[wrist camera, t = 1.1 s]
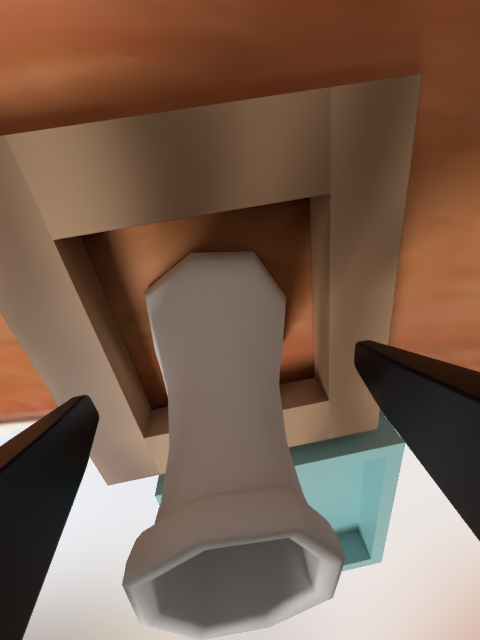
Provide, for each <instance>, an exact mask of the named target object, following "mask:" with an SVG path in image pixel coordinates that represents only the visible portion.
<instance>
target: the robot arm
mask: <svg viewBox="0 0 480 640" xmlns="http://www.w3.org/2000/svg"><path fill="white" fill-rule="evenodd" d="M354 365H355V368H356V370H357V372H358V373H359V375H360V377H361V378H362V380H363V382H364V383H365V385H366V387H367V388H368V390H369V392H370V393H371V395H372V397H373V398H374V400H375V402H376V403H377V405H378V406H379V408H380V409H381V411H382V412H383V413H384V415H385V416H386V417H387V419H388V420H389V421H390V423H391V424H392V425H393V427H394V428H395V429H396V431H397V432H398V433H399V435H400V436H401V437H402V439H403V440H404V441H405V443H406V444H407V445H408V447H409V448H410V449H411V451H412V452H413V453H414V455H415V456H416V457H417V459H418V460H419V461H420V462H421V464H422V465H423V466H424V468H425V469H426V471H427V472H428V473H429V475H430V476H431V477H432V479H433V480H434V481H435V483H436V484H437V485H438V486H439V488H440V489H441V490H442V492H443V493H444V494H445V496H446V497H447V498H448V500H449V501H450V502H451V504H452V505H453V506H454V508H455V509H456V510H457V512H458V513H459V514H460V515H461V517H462V518H463V520H464V521H465V522H466V523H467V525H468V526H469V528H470V529H471V530H472V532H473V533H474V534H475V536H476V537H477V538H478V539H479V541H480V372H477V371H474V370H470V369H467V368H464V367H460V366H457V365H453V364H450V363H447V362H443V361H440V360H436V359H433V358H429V357H426V356H423V355H419V354H416V353H412V352H409V351H406V350H402V349H399V348H395V347H392V346H389V345H385V344H382V343H378V342H375V341H372V340H364V341H359V342H357V343H356V344H355V353H354ZM98 422H99V413H98V411H97V409H96V407H95V405H94V403H93V401H92V400H91V398H90V396H88V395H81V396H75V397H72V398H71V399H69V400H68V401H66V402H65V403H63V404H62V405H61V406H59V407H58V408H56V409H55V410H53V411H52V412H50V413H49V414H47V415H46V416H44V417H43V418H41V419H40V420H38V421H37V422H36V423H34V424H33V425H31V426H30V427H28V428H27V429H25V430H24V431H22V432H21V433H19V434H18V435H16V436H15V437H13V438H12V439H10V440H9V441H8V442H6V443H5V444H3V445H2V446H0V640H22V639H23V636H24V634H25V631H26V628H27V626H28V623H29V620H30V617H31V614H32V612H33V609H34V607H35V604H36V601H37V599H38V596H39V593H40V591H41V588H42V585H43V583H44V580H45V577H46V575H47V572H48V569H49V567H50V564H51V561H52V558H53V556H54V553H55V551H56V548H57V545H58V542H59V540H60V537H61V534H62V532H63V529H64V526H65V523H66V521H67V518H68V516H69V513H70V510H71V507H72V505H73V502H74V499H75V497H76V494H77V491H78V489H79V486H80V483H81V481H82V478H83V475H84V472H85V470H86V466H87V463H88V460H89V456H90V452H91V449H92V445H93V441H94V437H95V434H96V430H97V426H98Z"/></svg>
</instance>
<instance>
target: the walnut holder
mask: <svg viewBox="0 0 480 640" xmlns="http://www.w3.org/2000/svg"><path fill="white" fill-rule="evenodd" d="M421 78H422V73H421V74H415V75H408V76H401V77H394V78H388V79H381V80H374V81H367V82H361V83H354V84H347V85H340V86H334V87H327V88H320V89H313V90H307V91H300V92H293V93H287V94H280V95H273V96H266V97H260V98H253V99H246V100H239V101H233V102H226V103H219V104H212V105H206V106H199V107H192V108H185V109H179V110H172V111H165V112H158V113H152V114H145V115H138V116H132V117H125V118H118V119H111V120H105V121H98V122H91V123H84V124H78V125H71V126H64V127H57V128H51V129H44V130H37V131H30V132H24V133H17V134H10V135H4V136H0V313H1V315H2V316H3V318H4V319H5V321H6V323H7V324H8V326H9V327H10V329H11V331H12V332H13V334H14V335H15V337H16V339H17V340H18V342H19V343H20V345H21V347H22V348H23V350H24V352H25V353H26V355H27V356H28V358H29V360H30V361H31V363H32V364H33V366H34V368H35V369H36V371H37V372H38V374H39V376H40V377H41V379H42V380H43V382H44V384H45V385H46V387H47V388H48V390H49V392H50V393H51V395H52V397H53V398H54V400H55V401H56V403H57V405H58V406H61V405H62V404H63V403H65V402H66V401H68V400H69V399H71V398H72V397H75V396H81V395H88V396H90V398H91V400H92V401H93V403H94V405H95V407H96V409H97V411H98V413H99V422H98V426H97V430H96V434H95V437H94V441H93V445H92V449H91V452H90V458H91V459H92V461H93V462H94V464H95V466H96V467H97V469H98V470H99V472H100V474H101V475H102V477H103V479H104V480H105V482H106V483H107V485H112V484H117V483H122V482H127V481H131V480H136V479H141V478H145V477H151V476H155V475H160V474H165V471H166V465H167V459H168V452H169V415H168V407H164V408H159V409H154V410H152V408H151V406H150V403H149V401H148V398H147V396H146V394H145V391H144V389H143V386H142V384H141V381H140V379H139V376H138V374H137V371H136V369H135V367H134V364H133V362H132V359H131V357H130V354H129V352H128V349H127V347H126V345H125V342H124V340H123V337H122V335H121V332H120V330H119V327H118V325H117V322H116V320H115V318H114V315H113V313H112V310H111V308H110V305H109V303H108V300H107V298H106V295H105V293H104V291H103V288H102V286H101V283H100V281H99V278H98V276H97V273H96V271H95V269H94V266H93V264H92V261H91V259H90V256H89V254H88V251H87V249H86V246H85V244H84V242H83V239H82V237H81V235H86V234H92V233H98V232H104V231H110V230H116V229H122V228H128V227H134V226H140V225H146V224H152V223H158V222H164V221H170V220H176V219H182V218H188V217H194V216H200V215H206V214H212V213H218V212H224V211H230V210H236V209H242V208H248V207H254V206H260V205H266V204H271V203H277V202H283V201H289V200H295V199H301V198H307V197H310V226H311V265H312V304H313V342H314V378H310V379H305V380H300V381H295V382H290V383H285V384H280V385H279V388H280V395H281V403H282V410H283V417H284V425H285V432H286V439H287V444H288V447H293V446H298V445H303V444H308V443H312V442H317V441H322V440H327V439H331V438H336V437H341V436H346V435H350V434H355V433H360V432H365V431H369V430H374V429H378V421H379V413H380V408H379V406H378V405H377V403H376V402H375V400H374V398H373V397H372V395H371V393H370V392H369V390H368V388H367V387H366V385H365V383H364V382H363V380H362V378H361V377H360V375H359V373H358V372H357V370H356V368H355V365H354V353H355V344H356V343H357V342H359V341H364V340H372V341H375V342H378V343H382V344H385V345H388V341H389V333H390V325H391V317H392V309H393V301H394V293H395V285H396V277H397V269H398V261H399V253H400V245H401V237H402V229H403V221H404V213H405V205H406V197H407V189H408V181H409V173H410V165H411V158H412V150H413V142H414V134H415V126H416V118H417V110H418V102H419V94H420V86H421Z"/></svg>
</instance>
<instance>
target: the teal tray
mask: <svg viewBox="0 0 480 640" xmlns="http://www.w3.org/2000/svg"><path fill="white" fill-rule="evenodd" d="M404 447H405V441H404V440H403V439H402V438H401V437H400V436H399V434H398V433H397V432H396V431H395V430H394V429H393V427H392V426H391V425H390V424H389V423H388V421H387V420H386V419H385V418H384V417H383V416H382V414H381V413H379V421H378V429H374V430H369V431H365V432H360V433H355V434H350V435H346V436H341V437H336V438H331V439H327V440H322V441H317V442H312V443H308V444H303V445H298V446H293V447H289V450H290V454H291V457H292V460H293V463H294V466H295V469H296V473H297V476H298V479H299V482H300V485H301V488H302V492H303V494H304V496H305V498H306V501H307V503H308V505H309V506H311V507H312V508H313V509H314V510H315V511H317V512H318V513H319V514H320V515H322V516H323V517H324V518H325V519H326V520H327V521H328V522H329V523H330V525H331V527H332V528H333V530H334V532H335V533H336V535H337V537H338V538H339V541H340V543H341V546H342V549H343V552H344V555H345V558H346V559H345V562H344V565H343V568H342V571H345V570H350V569H354V568H358V567H362V566H367V565H371V564H375V563H380V562H381V561H382V556H383V551H384V546H385V541H386V536H387V532H388V526H389V521H390V517H391V511H392V506H393V502H394V496H395V492H396V487H397V481H398V477H399V472H400V466H401V461H402V457H403V451H404ZM164 478H165V474H160V475H159V478H158V483H157V488H156V493H155V497H156V499H157V501H158V503H159V505H160V503H161V497H162V491H163V484H164Z"/></svg>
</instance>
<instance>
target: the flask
mask: <svg viewBox="0 0 480 640" xmlns="http://www.w3.org/2000/svg"><path fill="white" fill-rule="evenodd" d="M144 294H145V299H146V305H147V311H148V316H149V322H150V327H151V333H152V339H153V344H154V349H155V353H156V356H157V359H158V362H159V365H160V369H161V372H162V375H163V379H164V383H165V387H166V391H167V396H168V415H169V452H168V459H167V465H166V471H165V478H164V484H163V491H162V497H161V503H160V507H159V510H158V514H157V517H156V521H155V524H154V525H153V526H152V527H150V528H149V529H147V530H145V531H144V532H142V533H141V535H140V536H139V537H138V538H137V539H136V541H135V544H134V546H133V548H132V551H131V553H130V555H129V558H128V560H127V563H126V568H125V573H124V578H123V584H122V585H123V587H124V590H125V592H126V594H127V596H128V598H129V601H130V603H131V605H132V607H133V610H134V612H135V614H136V616H137V619H138V621H139V623H140V624H141V625H145V626H148V627H152V628H155V629H159V630H163V631H166V632H170V633H174V634H177V635H181V636H184V637H188V638H192V639H196V640H202V639H208V638H213V637H218V636H224V635H230V634H235V633H241V632H246V631H252V630H257V629H262V628H268V627H271V626H273V625H275V624H277V623H280V622H281V621H284V620H286V619H288V618H290V617H292V616H294V615H296V614H299V613H301V612H303V611H305V610H307V609H309V608H312V607H314V606H316V605H318V604H320V603H322V602H324V601H326V600H329V599H331V598H333V595H334V592H335V589H336V586H337V583H338V580H339V577H340V574H341V571H342V568H343V565H344V562H345V559H346V558H345V555H344V552H343V549H342V546H341V543H340V541H339V538H338V537H337V535H336V533H335V532H334V530H333V528H332V527H331V525H330V523H329V522H328V521H327V520H326V519H325V518H324V517H323V516H322V515H320V514H319V513H318V512H317V511H315V510H314V509H313V508H312V507H311V506H309V505H308V503H307V501H306V498H305V496H304V494H303V492H302V488H301V485H300V482H299V479H298V476H297V473H296V469H295V466H294V463H293V460H292V457H291V454H290V450H289V447H288V444H287V439H286V432H285V425H284V417H283V410H282V403H281V395H280V388H279V378H280V366H281V358H282V349H283V335H284V322H285V308H286V296H285V294H284V293H283V292H282V290H281V289H280V288H279V286H278V285H277V283H276V282H275V281H274V279H273V278H272V276H271V275H270V274H269V272H268V271H267V269H266V268H265V267H264V265H263V264H262V263H261V261H260V260H259V258H258V257H257V256H256V254H255V253H254V251H238V252H199V253H189V254H188V255H187V256H186V257H185V258H183V259H182V260H181V261H180V262H179V263H177V264H176V265H175V266H174V267H173V268H172V269H170V270H169V271H168V272H167V273H166V274H164V275H163V276H162V277H161V278H160V279H159V280H157V281H156V282H155V283H154V284H153V285H151V286H150V287H149V288H148V289H147V290H145V291H144Z"/></svg>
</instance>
